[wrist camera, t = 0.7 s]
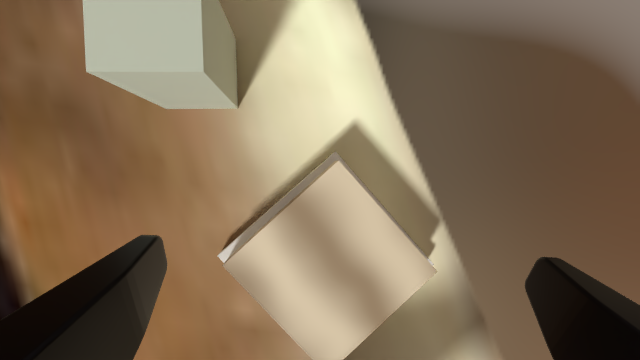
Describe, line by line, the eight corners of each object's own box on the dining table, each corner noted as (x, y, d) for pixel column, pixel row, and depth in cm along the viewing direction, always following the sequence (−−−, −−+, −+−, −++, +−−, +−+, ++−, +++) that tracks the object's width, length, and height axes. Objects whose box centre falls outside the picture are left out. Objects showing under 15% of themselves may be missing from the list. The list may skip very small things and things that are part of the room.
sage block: (238, 108, 24) (203, 71, 15) (166, 108, 23) (86, 71, 14) (235, 38, 23) (199, -43, 14) (163, 37, 23) (80, -46, 14)
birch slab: (324, 357, 24) (327, 374, 22) (228, 257, 23) (222, 265, 21) (425, 263, 24) (437, 271, 22) (334, 161, 23) (338, 160, 21)
